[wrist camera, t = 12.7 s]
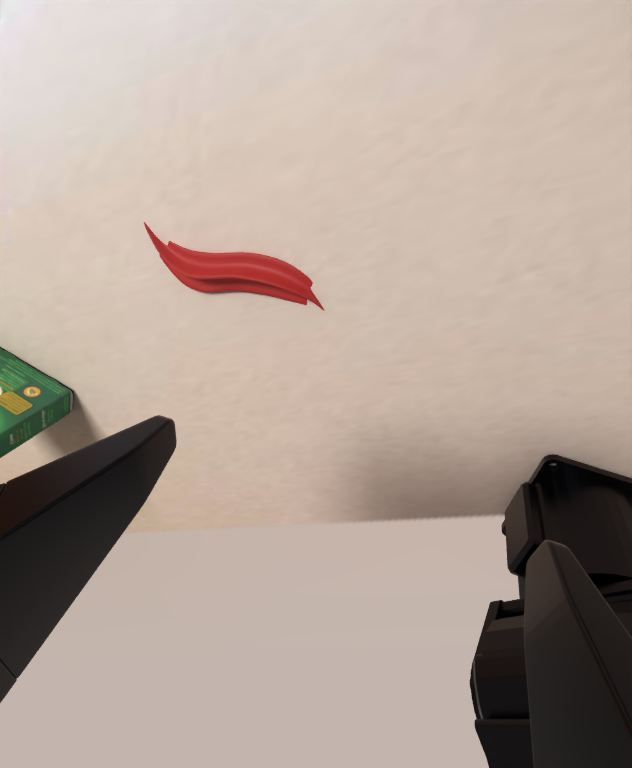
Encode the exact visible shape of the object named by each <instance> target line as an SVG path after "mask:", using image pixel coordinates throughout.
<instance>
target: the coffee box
mask: <svg viewBox="0 0 632 768" xmlns="http://www.w3.org/2000/svg"><path fill="white" fill-rule="evenodd" d="M72 404H73V393H72V392H71V390H69V389H68V388H66V387H64V386H63V385H61V384H59V383H58V382H57V381H56V380H55V379H53V378H51V377H48V376H46V375H45V374H42V373H41V372H39V371H38V370H36V369H34V368H33V367H31V366H29V365H28V364H26V363H24V362H23V361H21V360H19V359H18V358H16V357H15V356H14V355H12V354H11V353H9V352H7V351H4V350H3V349H1V348H0V458H1V457H3V456H4V455H6V454H7V453H9V452H10V451H12V450H14V449H15V448H17V447H18V446H20V445H22V444H23V443H24V442H26V441H28V440H29V439H31V438H32V437H33V436H35V435H37V434H38V433H40V432H41V431H43V430H44V429H46V428H47V427H49V426H51V425H52V424H54V423H55V422H57V421H58V420H60V419H61V418H63V417H64V416H66V415H67V414H69V413H70V412H71V411H72Z"/></svg>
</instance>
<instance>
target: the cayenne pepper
mask: <svg viewBox="0 0 632 768" xmlns="http://www.w3.org/2000/svg"><path fill="white" fill-rule="evenodd" d="M144 224H145V227H146V230H147V232H148V234H149V236H150V238H151V240H152V242H153V244H154V245H155V247H156V249H157V250H158V252H159V253H160V257H161V259H162V260H163V262H164V263H165V264H166V266H167V267H168V268H169V270H170V271H171V272H172V273H173V274H174V275H175V276H176V277H177V278H178V279H179V280H180V281H181V282H182V283H183V284H185V285H186V286H188V287H189V288H191V289H194V290H197V291H202V292H216V291H230V290H236V291H246V292H253V293H259V294H265V295H269V296H273V297H277V298H281V299H285V300H289V301H293V302H297V303H300V304H304V305H307V300H310V301H312V302H313V303H315V304H316V305H317V306H319V307H320V308H321V309H322V310H324V309H323V307H322V306H321V304H320V303H319V301H318V300H317V298H316V297H315V295H314V294H313V292H312V291H311V288H310V287H311V286H312V284H313V282H312V281H311V280H310V279H309V278H308V277H307V276H306V275H305V274H304V273H302V272H301V271H300V270H298V269H297V268H295V267H294V266H292V265H290V264H288V263H286V262H284V261H282V260H279V259H277V258H273V257H270V256H266V255H261V254H255V253H244V252H237V253H205V252H198V251H192V250H189V249H186V248H183V247H181V246H179V245H177V244H175V243H173V242H171V241H169V243H168V245H165V244H164V243H162V242H161V241H160V240H159V239H158V238H157V237H156V236H155V235H154V233H153V232H152V231H151V230H150V229H149V227H148V226H147V225H146V223H145V222H144Z"/></svg>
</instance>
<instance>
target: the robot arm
mask: <svg viewBox="0 0 632 768" xmlns="http://www.w3.org/2000/svg"><path fill="white" fill-rule="evenodd" d="M175 448H176V432H175V423H174V421H173V420H172V419H170V418H167V417H164V416H160V415H158V416H154V417H152V418H150V419H147V420H145V421H143V422H141V423H138V424H136V425H134V426H132V427H129V428H127V429H125V430H123V431H120V432H118V433H116V434H114V435H111V436H109V437H107V438H105V439H102V440H100V441H98V442H95V443H93V444H91V445H89V446H86V447H84V448H82V449H80V450H77V451H75V452H73V453H71V454H68V455H66V456H64V457H62V458H59V459H57V460H55V461H53V462H50V463H48V464H46V465H43V466H41V467H39V468H37V469H34V470H32V471H30V472H28V473H25V474H23V475H21V476H19V477H16V478H14V479H12V480H10V481H8V482H7V483H6V484H5V483H3V484H0V703H1V701H2V700H3V699H4V697H5V696H6V694H7V693H8V692H9V690H10V689H11V688H12V686H13V685H14V683H15V682H16V680H17V679H16V678H18V677H19V676H20V675H21V673H22V672H23V670H24V669H25V668H26V666H27V665H28V664H29V662H30V661H31V659H32V658H33V657H34V655H35V654H36V652H37V651H38V650H39V648H40V647H41V646H42V644H43V643H44V641H45V640H46V639H47V637H48V636H49V634H50V633H51V632H52V630H53V629H54V628H55V626H56V625H57V623H58V622H59V621H60V619H61V618H62V617H63V615H64V614H65V612H66V611H67V610H68V608H69V607H70V606H71V604H72V603H73V601H74V600H75V598H76V597H77V596H78V594H79V593H80V592H81V590H82V589H83V588H84V586H85V585H86V583H87V582H88V581H89V579H90V578H91V576H92V575H93V574H94V572H95V571H96V570H97V568H98V567H99V565H100V564H101V563H102V561H103V560H104V558H105V557H106V556H107V554H108V553H109V551H110V550H111V549H112V547H113V546H114V545H115V543H116V542H117V540H118V539H119V538H120V536H121V535H122V534H123V532H124V531H125V529H126V528H127V527H128V525H129V524H130V522H131V521H132V520H133V518H134V517H135V516H136V514H137V513H138V511H139V510H140V509H141V507H142V506H143V504H144V503H145V501H146V500H147V498H148V496H149V495H150V493H151V491H152V489H153V488H154V486H155V484H156V482H157V481H158V479H159V477H160V475H161V474H162V472H163V470H164V468H165V467H166V465H167V463H168V461H169V460H170V458H171V456H172V454H173V452H174V450H175ZM551 463H556V464H557V465H555V466H550V465H549V464H551ZM502 533H503V534H504V535H505V536H506V544H507V563H508V569H509V571H510V573H512V574H514V575H517V576H518V582H519V596H520V599H517V600H512V601H506V602H503V601H502V600H499V601H493V602H491V603H490V605H489V609H488V612H487V616H486V619H485V622H484V626H483V629H482V633H481V636H480V639H479V643H478V646H477V650H476V653H475V657H474V660H473V663H472V669H471V678H470V688H471V693H472V701H473V706H474V711H475V714H476V718H477V719H476V720H475V729H476V732H477V734H478V737H479V739H480V742H481V745H482V747H483V750H484V752H485V755H486V757H487V761H488V765H489V768H632V479H631V478H628V477H625V476H622V475H618V474H615V473H612V472H609V471H606V470H602V469H599V468H596V467H593V466H590V465H586V464H583V463H580V462H577V461H574V460H570V459H567V458H564V457H561V456H558V455H548V456H545V457H544V458H543V459H542V461H541V462H540V464H539V466H538V467H537V469H536V470H535V472H534V474H533V475H532V477H531V478H530V480H529V482H525V483H523V484H522V485H521V486H520V488H519V489H518V491H517V493H516V494H515V496H514V498H513V499H512V501H511V503H510V504H509V506H508V507H507V509H506V511H505V520H504V522H503V523H502Z"/></svg>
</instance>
